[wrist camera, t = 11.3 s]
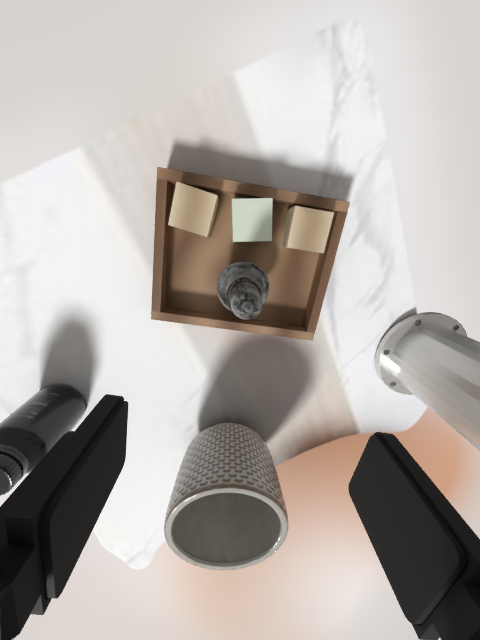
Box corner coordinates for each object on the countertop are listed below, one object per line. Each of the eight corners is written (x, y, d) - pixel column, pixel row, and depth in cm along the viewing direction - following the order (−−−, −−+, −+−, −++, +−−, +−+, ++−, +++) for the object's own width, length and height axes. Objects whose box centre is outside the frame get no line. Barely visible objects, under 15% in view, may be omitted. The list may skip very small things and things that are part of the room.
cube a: (320, 216, 28) (334, 212, 24) (311, 251, 29) (323, 253, 25) (286, 210, 28) (295, 205, 24) (279, 246, 29) (286, 247, 25)
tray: (337, 205, 28) (349, 202, 25) (305, 331, 33) (312, 340, 30) (165, 174, 27) (157, 166, 24) (158, 311, 32) (151, 319, 29)
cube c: (219, 201, 27) (217, 195, 23) (210, 237, 28) (207, 237, 25) (184, 189, 27) (176, 181, 23) (176, 226, 28) (168, 224, 24)
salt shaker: (261, 254, 29) (280, 264, 18) (268, 300, 31) (289, 336, 20) (213, 263, 29) (202, 279, 18) (223, 309, 31) (218, 349, 20)
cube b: (266, 203, 27) (272, 198, 24) (266, 240, 29) (271, 241, 25) (231, 204, 27) (231, 198, 23) (232, 241, 29) (233, 241, 25)
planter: (229, 484, 42) (228, 585, 30) (166, 441, 39) (136, 536, 26) (288, 437, 39) (315, 528, 27) (226, 387, 36) (224, 465, 23)
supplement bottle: (32, 408, 36) (-61, 488, 24) (49, 374, 34) (-43, 443, 23) (77, 428, 37) (9, 512, 26) (95, 396, 35) (31, 471, 24)
